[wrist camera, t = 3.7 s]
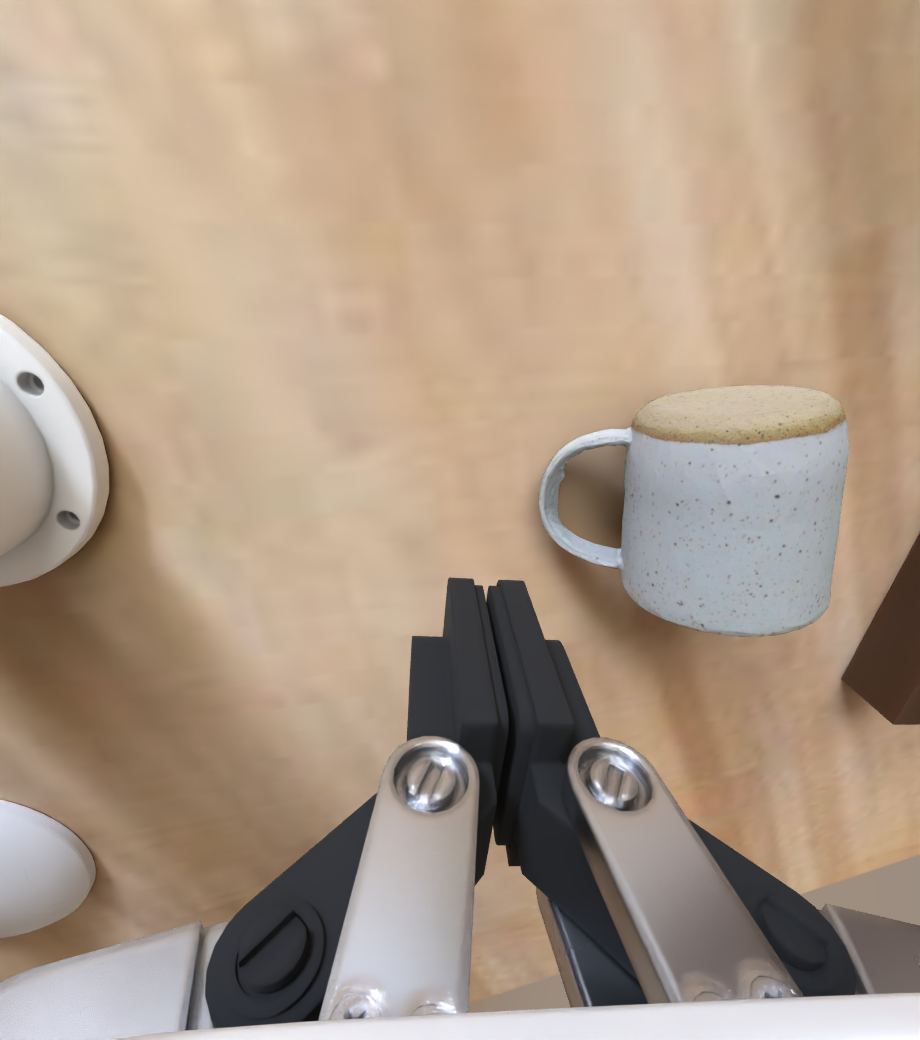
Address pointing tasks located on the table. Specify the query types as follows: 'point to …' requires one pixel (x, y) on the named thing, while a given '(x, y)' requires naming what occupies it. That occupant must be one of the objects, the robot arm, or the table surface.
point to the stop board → (893, 650)
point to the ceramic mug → (723, 507)
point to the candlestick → (39, 870)
